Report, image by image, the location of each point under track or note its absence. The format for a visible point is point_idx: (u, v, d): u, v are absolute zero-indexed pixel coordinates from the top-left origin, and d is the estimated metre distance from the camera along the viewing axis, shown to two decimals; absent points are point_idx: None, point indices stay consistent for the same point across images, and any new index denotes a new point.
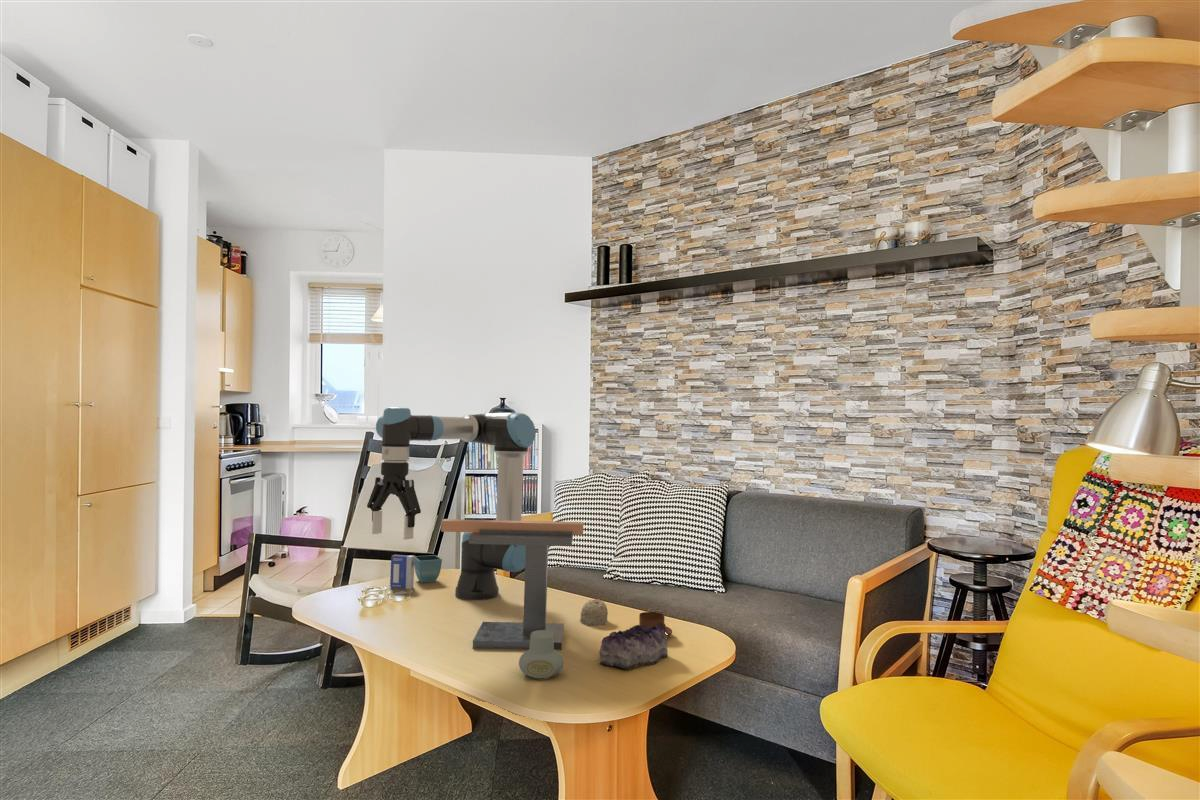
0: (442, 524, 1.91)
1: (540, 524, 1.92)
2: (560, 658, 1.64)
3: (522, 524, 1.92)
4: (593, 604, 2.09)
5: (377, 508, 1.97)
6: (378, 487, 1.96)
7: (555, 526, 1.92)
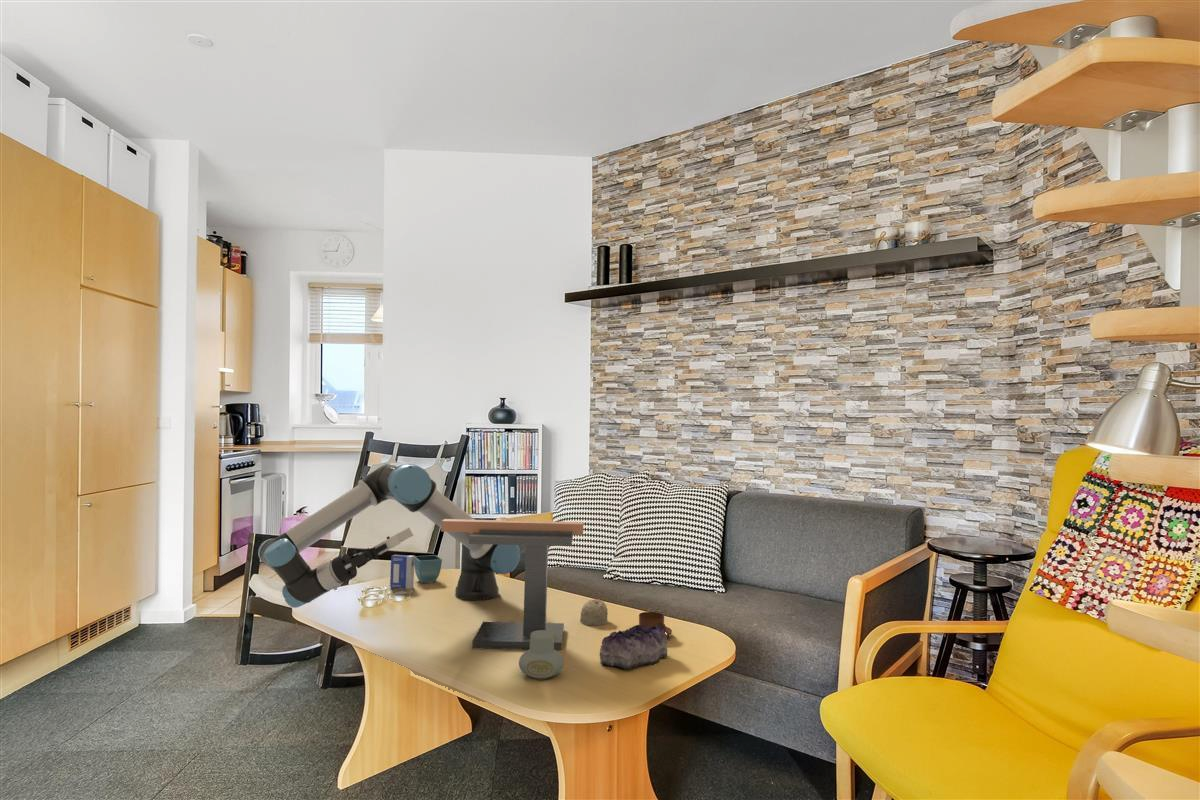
0: (442, 524, 1.91)
1: (540, 524, 1.92)
2: (560, 658, 1.64)
3: (522, 524, 1.92)
4: (593, 604, 2.09)
5: None
6: None
7: (555, 526, 1.92)
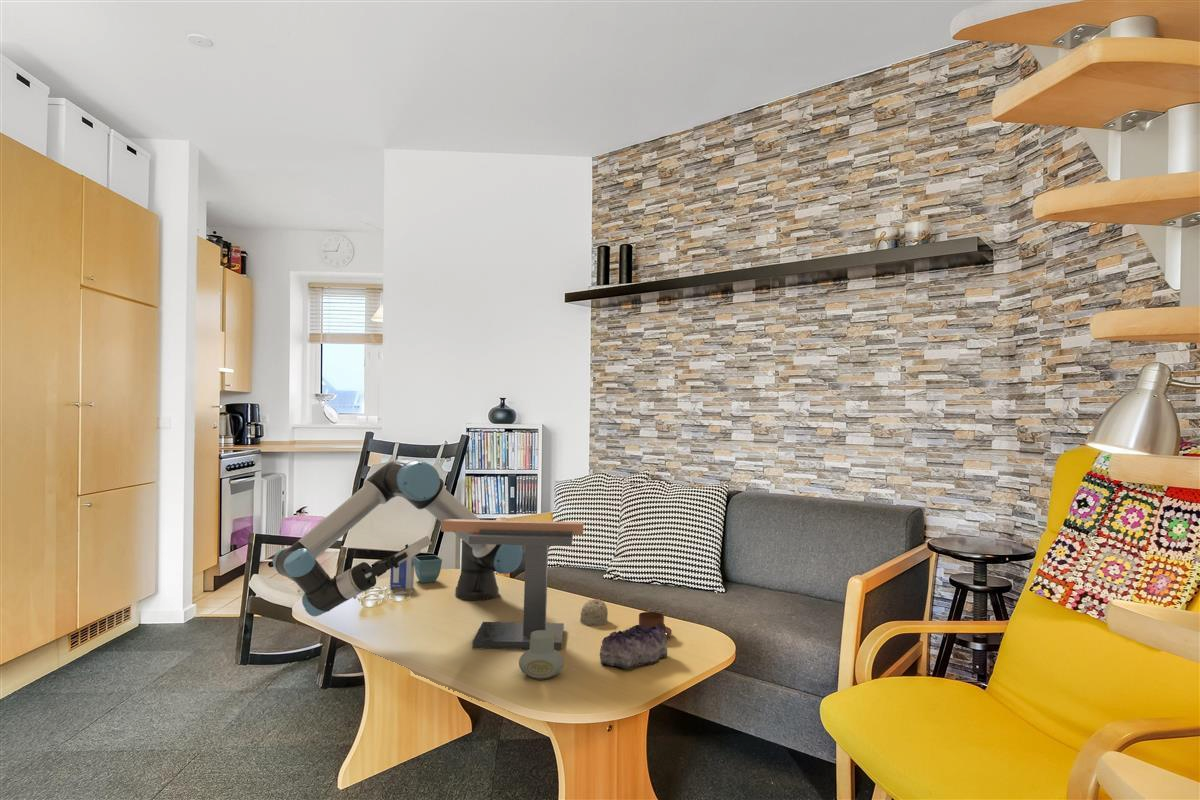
0: (442, 524, 1.91)
1: (540, 524, 1.92)
2: (560, 658, 1.64)
3: (522, 524, 1.92)
4: (593, 604, 2.09)
5: None
6: None
7: (555, 526, 1.92)
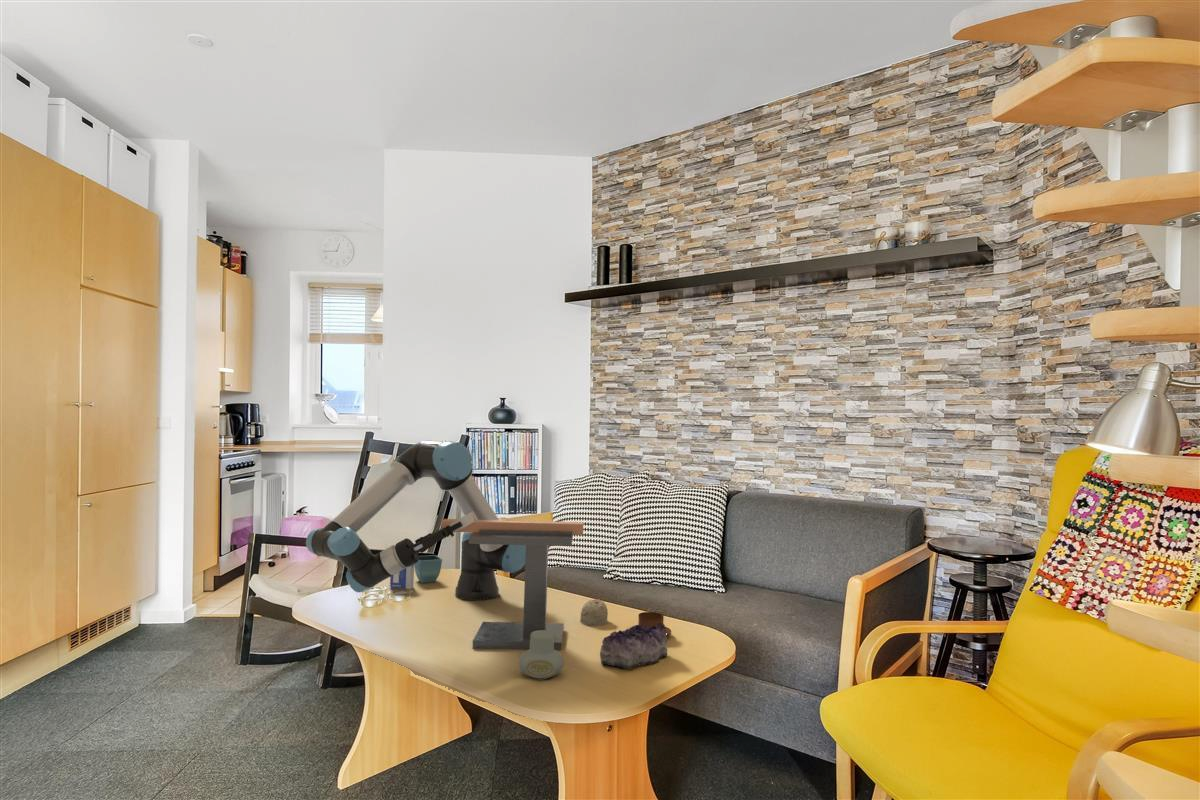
0: (442, 524, 1.91)
1: (540, 524, 1.92)
2: (560, 658, 1.64)
3: (522, 524, 1.92)
4: (593, 604, 2.09)
5: None
6: None
7: (555, 526, 1.92)
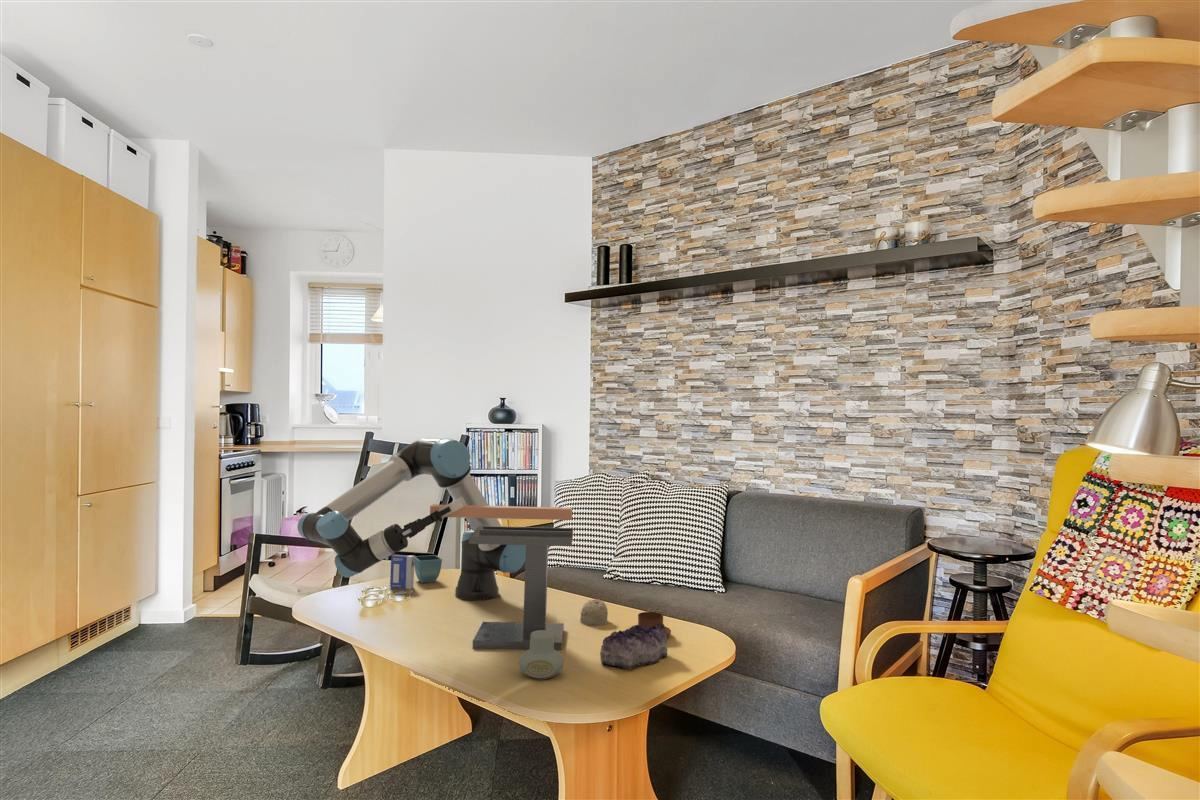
0: (431, 509, 1.91)
1: (529, 509, 1.92)
2: (560, 658, 1.64)
3: (511, 509, 1.92)
4: (593, 604, 2.09)
5: None
6: None
7: (544, 511, 1.92)
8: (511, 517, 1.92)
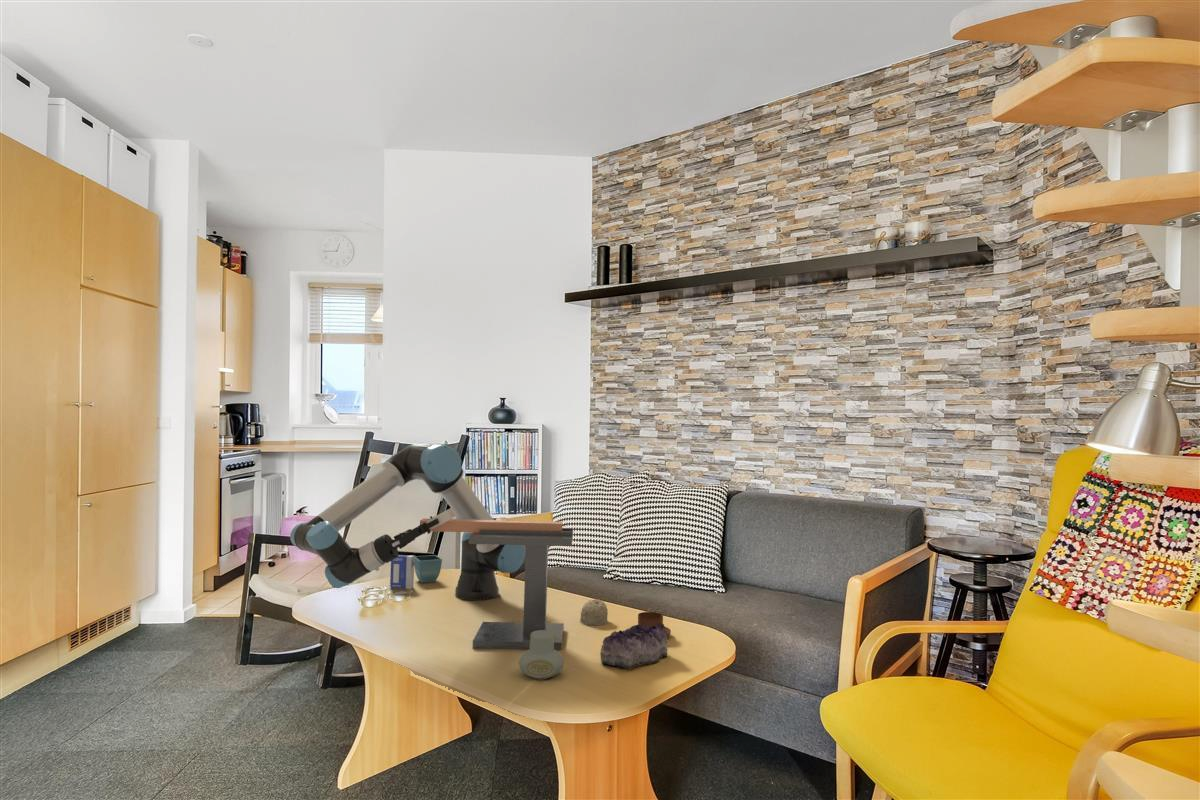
0: (420, 523, 1.91)
1: (519, 523, 1.92)
2: (560, 658, 1.64)
3: (501, 523, 1.92)
4: (593, 604, 2.09)
5: None
6: None
7: (534, 525, 1.92)
8: None
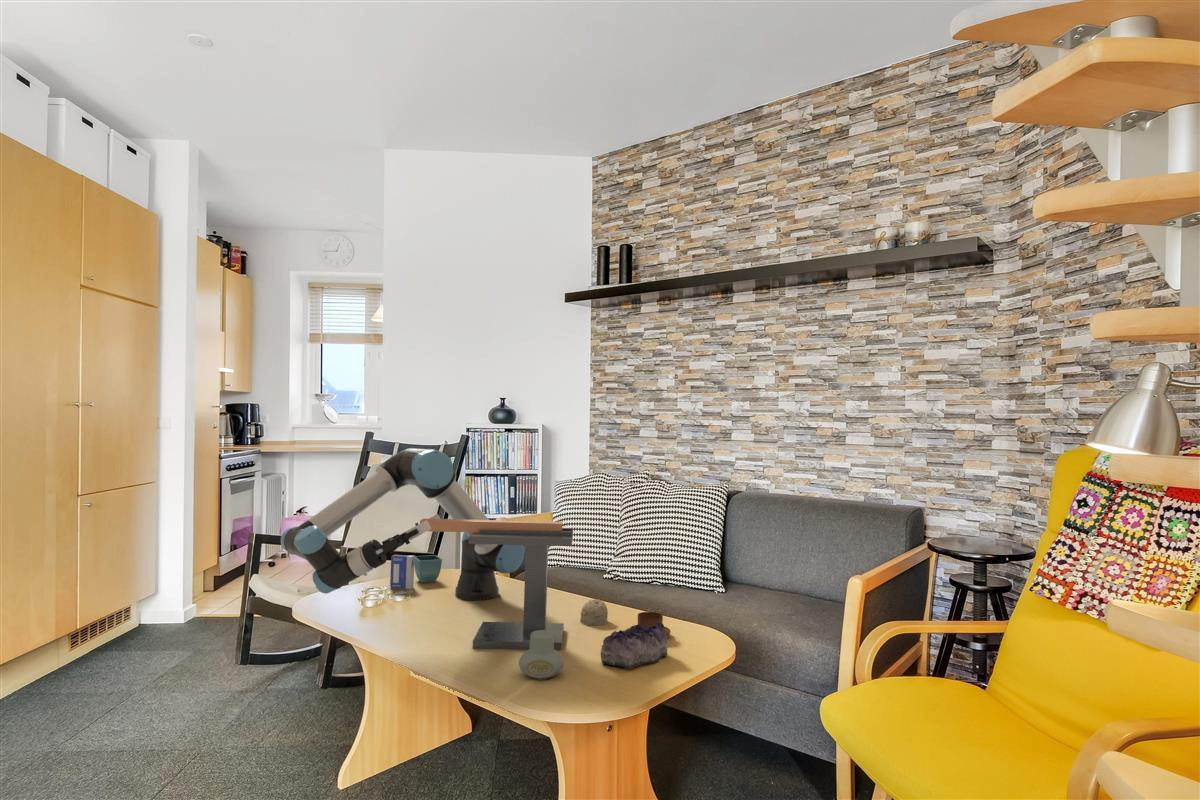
0: (420, 523, 1.91)
1: (519, 523, 1.92)
2: (560, 658, 1.64)
3: (501, 523, 1.92)
4: (593, 604, 2.09)
5: None
6: None
7: (534, 525, 1.92)
8: None
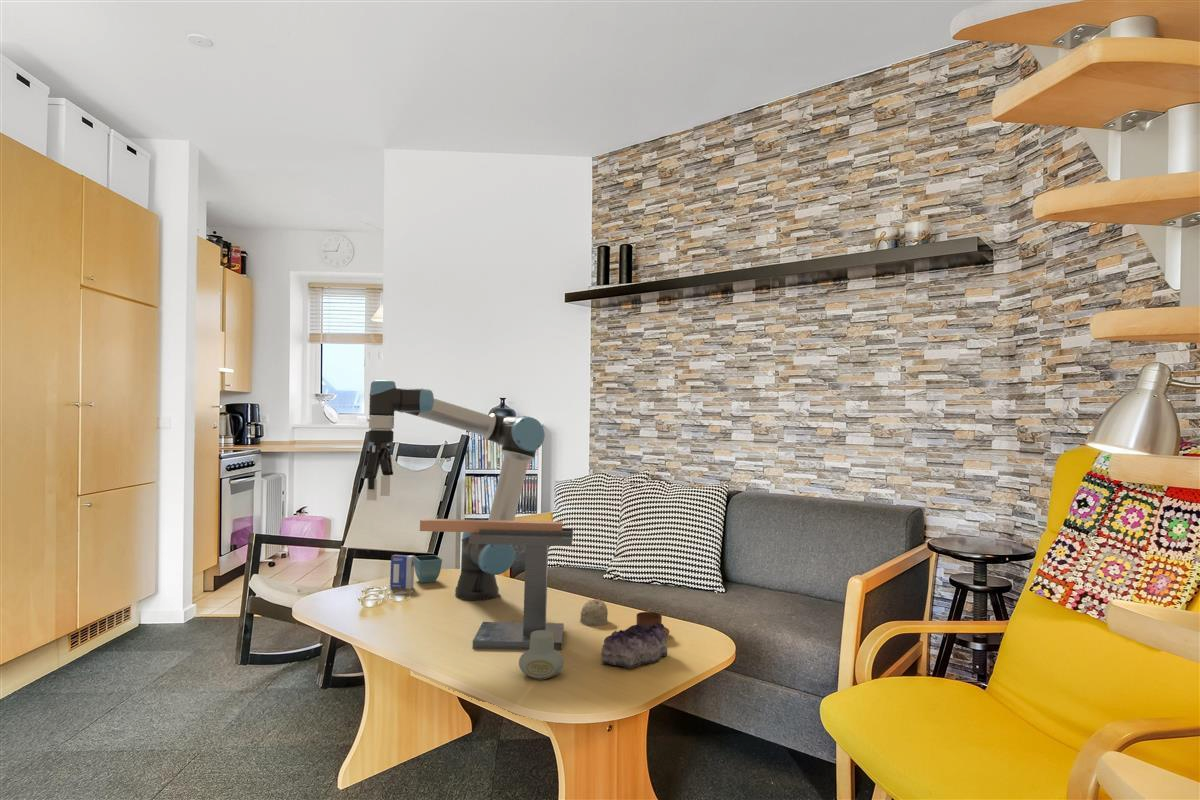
0: (420, 523, 1.91)
1: (519, 523, 1.92)
2: (560, 658, 1.64)
3: (501, 523, 1.92)
4: (593, 604, 2.09)
5: (386, 473, 2.19)
6: None
7: (534, 525, 1.92)
8: None
